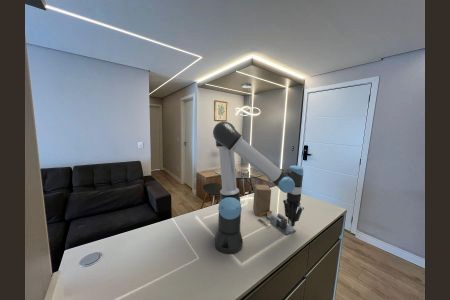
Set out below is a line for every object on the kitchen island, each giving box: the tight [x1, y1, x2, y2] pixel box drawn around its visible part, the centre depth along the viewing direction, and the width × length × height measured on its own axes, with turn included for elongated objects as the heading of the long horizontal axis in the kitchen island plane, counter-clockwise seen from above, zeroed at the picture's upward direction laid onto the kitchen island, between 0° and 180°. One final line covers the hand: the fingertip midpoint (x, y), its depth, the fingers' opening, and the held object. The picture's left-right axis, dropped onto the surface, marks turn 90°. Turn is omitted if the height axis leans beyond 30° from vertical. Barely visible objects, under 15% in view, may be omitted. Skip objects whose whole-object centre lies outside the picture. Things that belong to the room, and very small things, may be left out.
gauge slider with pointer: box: [260, 209, 288, 228], centre depth 108 cm, size 11×15×5 cm
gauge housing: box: [256, 213, 297, 236], centre depth 106 cm, size 14×20×5 cm
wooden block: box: [252, 184, 272, 217], centre depth 121 cm, size 10×10×20 cm
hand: (290, 229), depth 100 cm, fingers closed
